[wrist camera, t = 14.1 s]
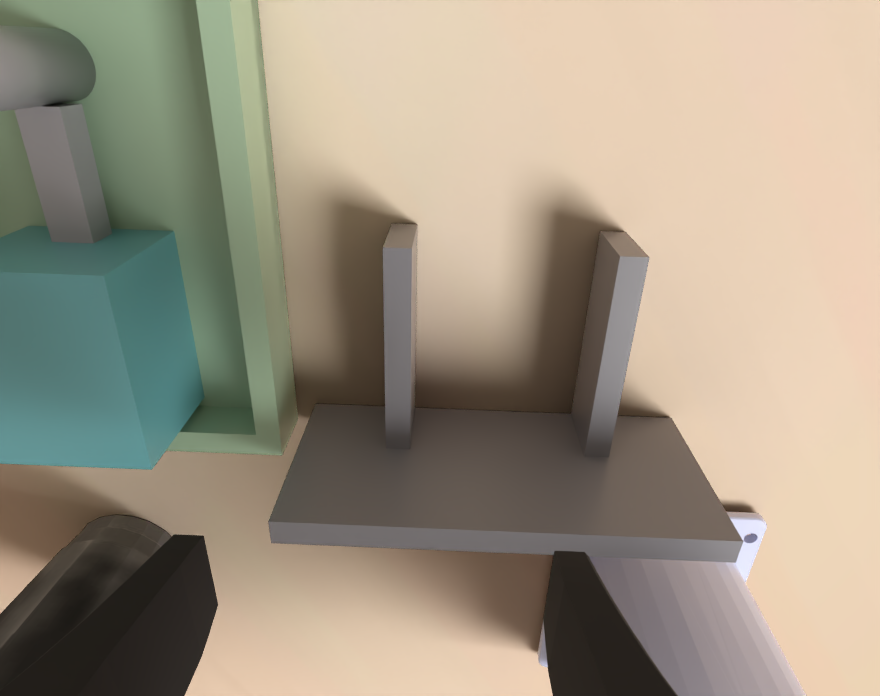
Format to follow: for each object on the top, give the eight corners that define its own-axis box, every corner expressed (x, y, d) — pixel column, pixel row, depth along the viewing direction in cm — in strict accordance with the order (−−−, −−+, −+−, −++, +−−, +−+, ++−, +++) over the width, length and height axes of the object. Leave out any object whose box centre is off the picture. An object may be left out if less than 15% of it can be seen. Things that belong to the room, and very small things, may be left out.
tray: (298, 418, 22) (282, 455, 20) (15, 407, 22) (-29, 442, 20) (249, -83, 15) (217, -103, 13) (-166, -96, 15) (-260, -119, 13)
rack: (666, 435, 22) (735, 562, 16) (316, 421, 22) (271, 543, 16) (717, 235, 18) (826, 312, 13) (301, 219, 18) (236, 290, 13)
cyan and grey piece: (204, 397, 21) (116, 518, 15) (78, 392, 21) (-54, 511, 15) (137, 30, 15) (-33, 20, 10) (-31, 25, 15) (-288, 12, 10)
